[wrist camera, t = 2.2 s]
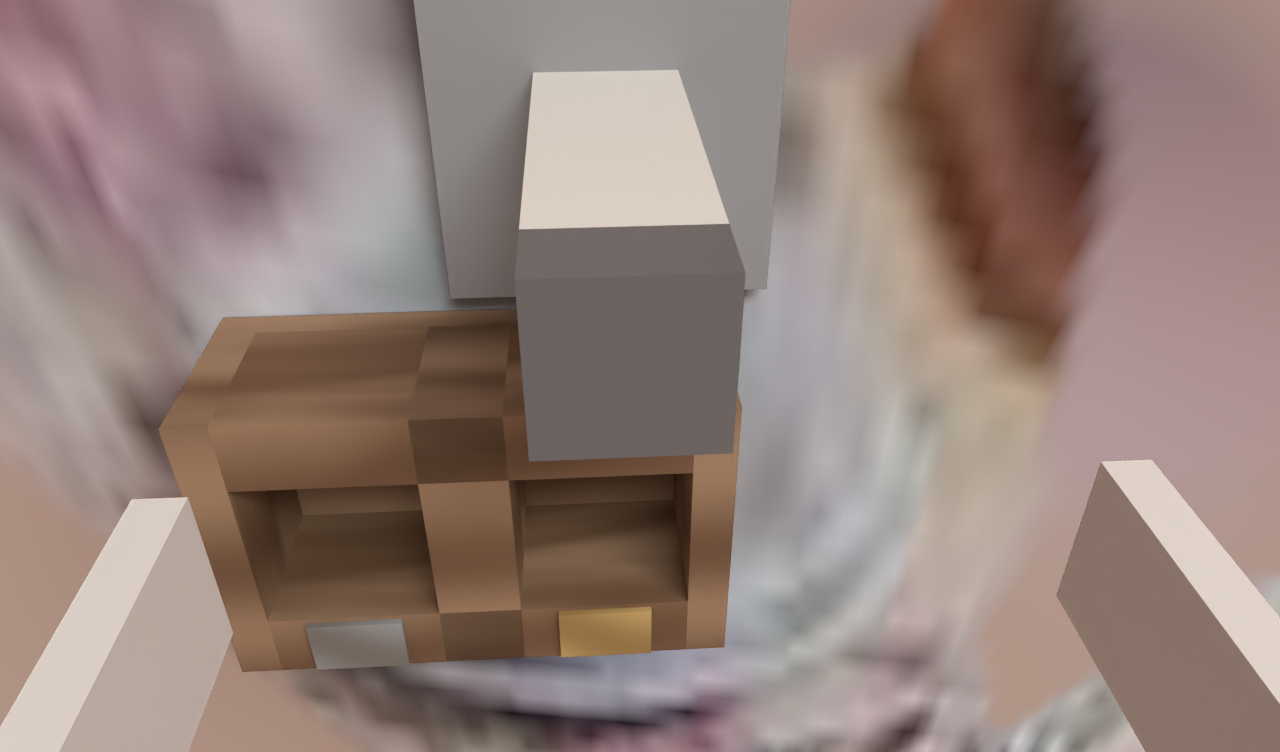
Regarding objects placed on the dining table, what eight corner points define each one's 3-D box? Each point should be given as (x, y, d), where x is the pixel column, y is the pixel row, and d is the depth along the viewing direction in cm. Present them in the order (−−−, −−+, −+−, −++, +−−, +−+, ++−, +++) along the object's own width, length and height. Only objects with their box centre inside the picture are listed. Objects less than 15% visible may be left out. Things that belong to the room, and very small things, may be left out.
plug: (532, 72, 26) (514, 279, 17) (677, 70, 27) (745, 272, 17) (541, 207, 29) (529, 461, 19) (674, 204, 29) (732, 453, 19)
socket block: (222, 317, 31) (155, 434, 26) (714, 302, 32) (743, 412, 27) (286, 548, 37) (242, 680, 32) (702, 529, 38) (724, 655, 33)
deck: (413, -52, 25) (407, -44, 25) (787, -56, 26) (795, -48, 25) (453, 283, 31) (450, 298, 30) (761, 274, 32) (766, 289, 31)
